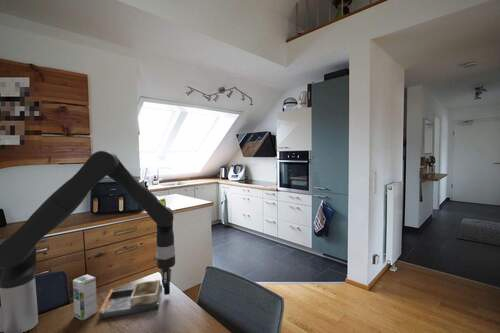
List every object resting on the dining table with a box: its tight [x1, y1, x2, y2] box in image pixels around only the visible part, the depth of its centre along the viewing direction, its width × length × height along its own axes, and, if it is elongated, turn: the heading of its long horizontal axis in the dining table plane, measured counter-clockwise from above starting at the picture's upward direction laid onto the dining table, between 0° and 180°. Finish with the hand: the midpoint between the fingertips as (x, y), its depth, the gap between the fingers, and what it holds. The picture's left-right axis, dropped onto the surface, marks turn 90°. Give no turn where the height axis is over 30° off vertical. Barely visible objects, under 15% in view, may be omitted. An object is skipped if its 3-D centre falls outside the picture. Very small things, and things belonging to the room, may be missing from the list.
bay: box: [98, 283, 163, 320], centre depth 103 cm, size 21×15×3 cm
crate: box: [130, 279, 161, 307], centre depth 105 cm, size 10×12×5 cm
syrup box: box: [72, 274, 98, 321], centre depth 96 cm, size 6×6×14 cm
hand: (167, 293), depth 107 cm, fingers closed
